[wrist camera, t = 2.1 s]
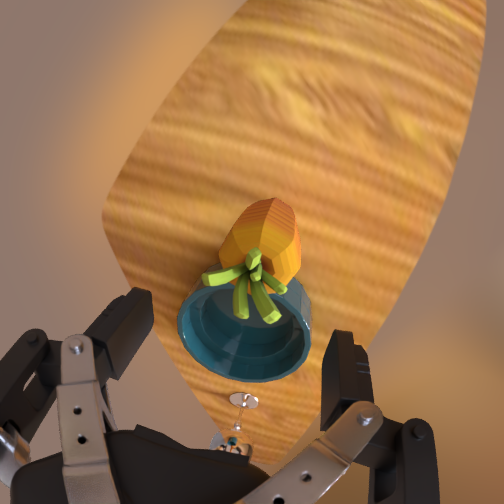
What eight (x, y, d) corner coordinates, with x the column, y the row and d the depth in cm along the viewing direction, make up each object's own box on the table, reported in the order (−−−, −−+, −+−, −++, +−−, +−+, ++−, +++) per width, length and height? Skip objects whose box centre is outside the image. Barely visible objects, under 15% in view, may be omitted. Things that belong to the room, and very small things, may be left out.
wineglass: (268, 396, 39) (253, 468, 28) (256, 414, 42) (242, 479, 31) (229, 385, 39) (207, 456, 28) (222, 404, 42) (201, 468, 31)
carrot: (238, 200, 27) (169, 292, 14) (282, 168, 25) (252, 238, 12) (270, 241, 28) (235, 359, 15) (314, 214, 26) (318, 323, 13)
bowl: (194, 245, 30) (174, 269, 25) (324, 269, 28) (326, 298, 24) (193, 338, 36) (180, 366, 31) (297, 360, 34) (294, 391, 30)
